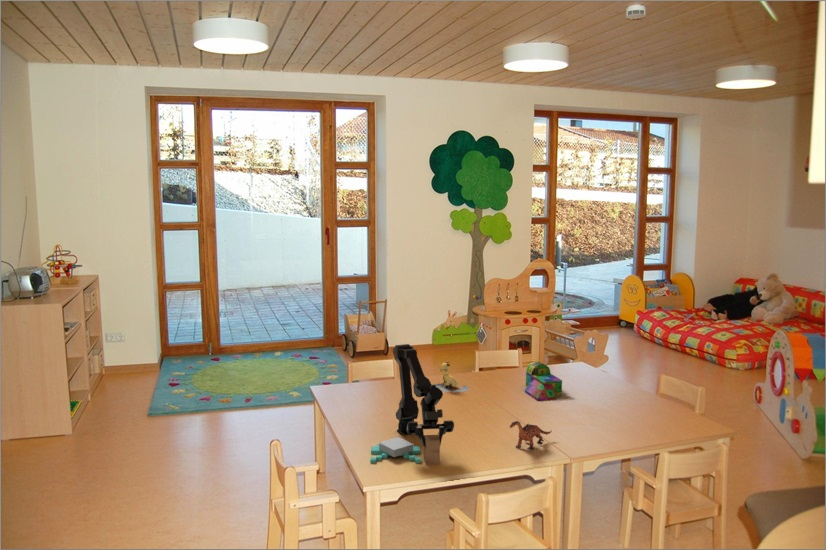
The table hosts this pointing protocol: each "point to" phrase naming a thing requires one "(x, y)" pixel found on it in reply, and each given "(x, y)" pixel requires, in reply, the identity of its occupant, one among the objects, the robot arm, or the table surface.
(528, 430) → the brown animal figure
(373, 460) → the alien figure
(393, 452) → the slate block
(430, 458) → the walnut block
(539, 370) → the block puzzle
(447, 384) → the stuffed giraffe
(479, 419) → the table surface
